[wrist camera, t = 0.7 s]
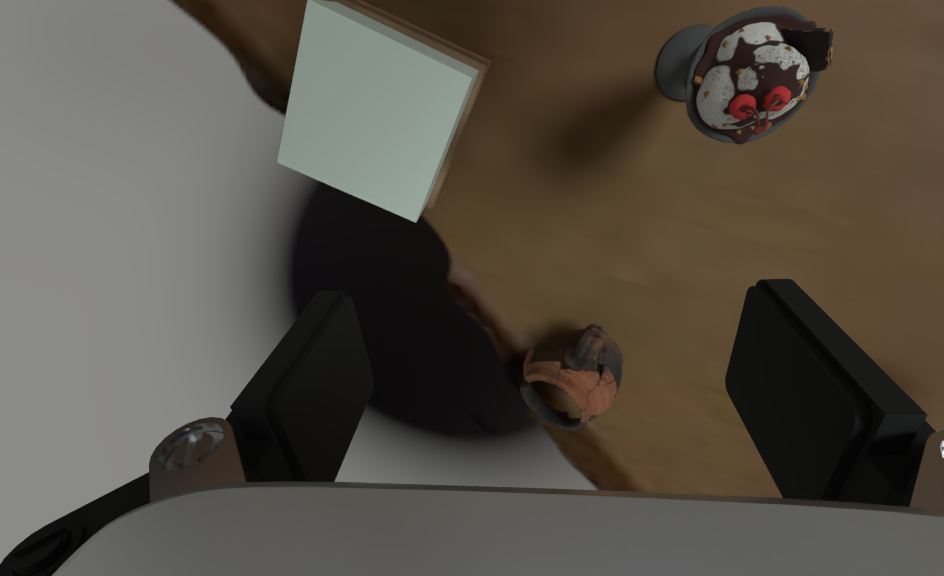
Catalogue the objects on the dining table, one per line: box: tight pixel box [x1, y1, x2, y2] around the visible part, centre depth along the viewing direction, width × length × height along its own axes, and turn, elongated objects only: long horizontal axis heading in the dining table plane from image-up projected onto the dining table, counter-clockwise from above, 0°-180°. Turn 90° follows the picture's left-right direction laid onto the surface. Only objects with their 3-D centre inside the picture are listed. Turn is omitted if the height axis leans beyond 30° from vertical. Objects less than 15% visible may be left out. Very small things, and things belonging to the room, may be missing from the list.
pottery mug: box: [520, 324, 623, 431], centre depth 44 cm, size 12×9×8 cm
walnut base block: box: [327, 0, 492, 209], centre depth 34 cm, size 11×11×5 cm
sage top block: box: [277, 0, 479, 222], centre depth 30 cm, size 10×10×4 cm
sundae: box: [656, 6, 833, 144], centre depth 26 cm, size 7×7×15 cm
